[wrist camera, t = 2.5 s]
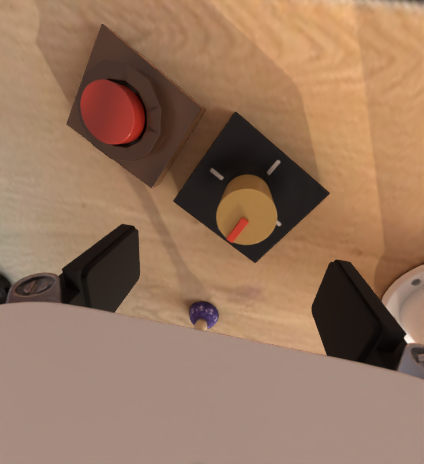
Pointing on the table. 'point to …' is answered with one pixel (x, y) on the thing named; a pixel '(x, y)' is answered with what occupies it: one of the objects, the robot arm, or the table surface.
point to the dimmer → (249, 163)
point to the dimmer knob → (246, 211)
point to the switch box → (154, 103)
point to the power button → (112, 112)
